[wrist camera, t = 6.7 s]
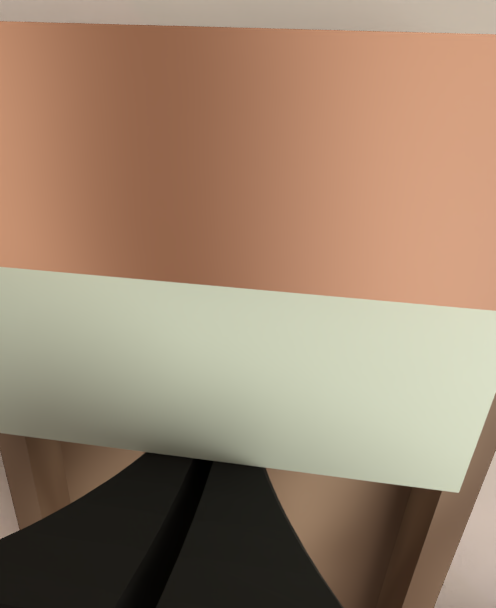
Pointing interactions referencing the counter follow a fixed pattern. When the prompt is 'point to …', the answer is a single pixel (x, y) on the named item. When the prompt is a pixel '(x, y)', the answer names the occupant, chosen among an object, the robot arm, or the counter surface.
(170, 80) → the track
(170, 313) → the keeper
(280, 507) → the robot arm
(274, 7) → the counter surface
